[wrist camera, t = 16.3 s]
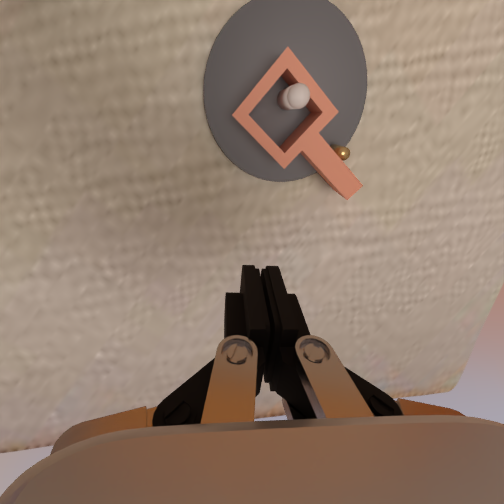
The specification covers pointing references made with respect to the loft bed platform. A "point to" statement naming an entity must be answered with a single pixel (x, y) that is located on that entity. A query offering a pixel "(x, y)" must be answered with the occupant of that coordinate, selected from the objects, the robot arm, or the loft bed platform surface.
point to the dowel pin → (341, 151)
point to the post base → (281, 94)
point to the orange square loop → (300, 126)
